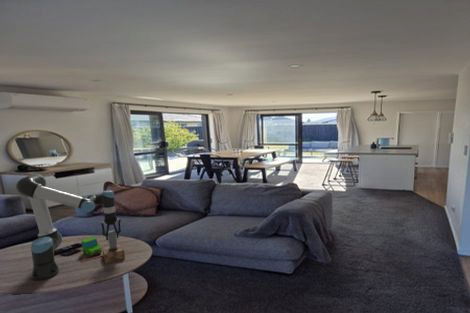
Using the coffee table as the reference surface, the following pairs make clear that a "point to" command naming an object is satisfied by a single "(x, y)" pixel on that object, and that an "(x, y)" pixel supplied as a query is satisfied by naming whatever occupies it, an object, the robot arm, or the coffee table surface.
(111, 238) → the dark grey bar
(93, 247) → the toy car
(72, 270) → the coffee table surface
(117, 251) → the wooden square frame
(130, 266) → the coffee table surface
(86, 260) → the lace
